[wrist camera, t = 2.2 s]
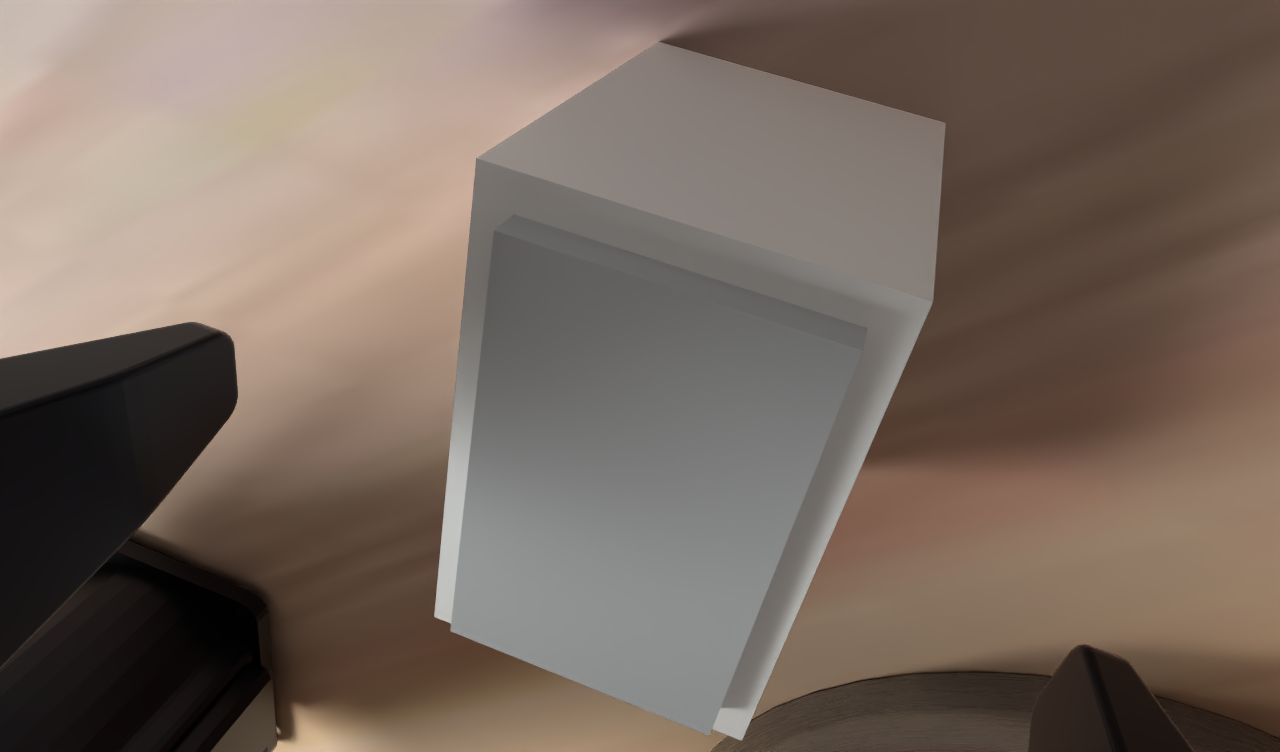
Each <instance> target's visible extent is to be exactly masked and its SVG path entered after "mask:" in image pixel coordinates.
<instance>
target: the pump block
mask: <svg viewBox="0 0 1280 752" xmlns="http://www.w3.org/2000/svg"><path fill="white" fill-rule="evenodd" d="M945 127H946V123H945V122H941V121H938V120H934V119H930V118H927V117H923V116H920V115H916V114H913V113H909V112H906V111H902V110H899V109H895V108H892V107H888V106H884V105H881V104H877V103H874V102H870V101H867V100H863V99H860V98H856V97H853V96H849V95H845V94H842V93H838V92H835V91H831V90H828V89H824V88H821V87H817V86H814V85H810V84H807V83H803V82H799V81H796V80H792V79H789V78H785V77H782V76H778V75H775V74H771V73H768V72H764V71H761V70H757V69H753V68H750V67H746V66H743V65H739V64H736V63H732V62H729V61H725V60H722V59H718V58H715V57H711V56H707V55H704V54H700V53H697V52H693V51H690V50H686V49H683V48H679V47H676V46H672V45H669V44H665V43H661V42H657V43H656V44H654V45H653V46H651V47H650V48H648V49H646V50H645V51H643V52H642V53H640V54H639V55H637V56H636V57H634V58H632V59H631V60H629V61H628V62H626V63H625V64H623V65H621V66H620V67H618V68H617V69H615V70H614V71H612V72H611V73H609V74H607V75H606V76H604V77H603V78H601V79H600V80H598V81H596V82H595V83H593V84H592V85H590V86H589V87H587V88H585V89H584V90H582V91H581V92H579V93H578V94H576V95H575V96H573V97H571V98H570V99H568V100H567V101H565V102H564V103H562V104H560V105H559V106H557V107H556V108H554V109H553V110H551V111H550V112H548V113H546V114H545V115H543V116H542V117H540V118H539V119H537V120H535V121H534V122H532V123H531V124H529V125H528V126H526V127H525V128H523V129H521V130H520V131H518V132H517V133H515V134H514V135H512V136H510V137H509V138H507V139H506V140H504V141H503V142H501V143H500V144H498V145H496V146H495V147H493V148H492V149H490V150H489V151H487V152H485V153H484V154H482V155H481V156H479V157H478V158H476V168H475V179H474V190H473V201H472V212H471V223H470V234H469V244H468V255H467V266H466V277H465V288H464V299H463V310H462V320H461V331H460V342H459V353H458V364H457V375H456V386H455V396H454V407H453V418H452V429H451V440H450V451H449V462H448V472H447V483H446V494H445V505H444V516H443V527H442V538H441V548H440V559H439V570H438V581H437V592H436V603H435V614H434V617H436V618H438V619H441V620H443V621H446V622H448V623H451V629H450V631H451V632H454V633H456V634H459V635H461V636H463V637H466V638H468V639H471V640H473V641H476V642H478V643H481V644H483V645H486V646H488V647H491V648H493V649H496V650H498V651H501V652H503V653H505V654H508V655H510V656H513V657H515V658H518V659H520V660H523V661H525V662H528V663H530V664H533V665H535V666H538V667H540V668H543V669H545V670H547V671H550V672H552V673H555V674H557V675H560V676H562V677H565V678H567V679H570V680H572V681H575V682H577V683H580V684H582V685H585V686H587V687H589V688H592V689H594V690H597V691H599V692H602V693H604V694H607V695H609V696H612V697H614V698H617V699H619V700H622V701H624V702H627V703H629V704H631V705H634V706H636V707H639V708H641V709H644V710H646V711H649V712H651V713H654V714H656V715H659V716H661V717H664V718H666V719H669V720H671V721H673V722H676V723H678V724H681V725H683V726H686V727H688V728H691V729H693V730H696V731H698V732H701V733H703V734H706V735H708V736H709V735H710V733H711V730H712V729H713V730H716V731H718V732H721V733H723V734H726V735H728V736H731V737H733V738H736V739H738V740H741V741H742V739H743V737H744V735H745V732H746V730H747V728H748V725H749V723H750V721H751V719H752V716H753V714H754V712H755V709H756V707H757V705H758V703H759V700H760V698H761V696H762V693H763V691H764V689H765V686H766V684H767V682H768V680H769V677H770V675H771V673H772V670H773V668H774V666H775V664H776V661H777V659H778V657H779V654H780V652H781V650H782V648H783V645H784V643H785V641H786V638H787V636H788V634H789V631H790V629H791V627H792V625H793V622H794V620H795V618H796V615H797V613H798V611H799V609H800V606H801V604H802V602H803V599H804V597H805V595H806V592H807V590H808V588H809V586H810V583H811V581H812V579H813V576H814V574H815V572H816V570H817V567H818V565H819V563H820V560H821V558H822V556H823V553H824V551H825V549H826V547H827V544H828V542H829V540H830V537H831V535H832V533H833V531H834V528H835V526H836V524H837V521H838V519H839V517H840V514H841V512H842V510H843V508H844V505H845V503H846V501H847V498H848V496H849V494H850V492H851V489H852V487H853V485H854V482H855V480H856V478H857V475H858V473H859V471H860V469H861V466H862V464H863V462H864V459H865V457H866V455H867V453H868V450H869V448H870V446H871V443H872V441H873V439H874V437H875V434H876V432H877V430H878V427H879V425H880V423H881V420H882V418H883V416H884V414H885V411H886V409H887V407H888V404H889V402H890V400H891V398H892V395H893V393H894V391H895V388H896V386H897V384H898V381H899V379H900V377H901V375H902V372H903V370H904V368H905V365H906V363H907V361H908V359H909V356H910V354H911V352H912V349H913V347H914V345H915V342H916V340H917V338H918V336H919V333H920V331H921V329H922V326H923V324H924V322H925V320H926V317H927V315H928V313H929V310H930V308H931V306H932V303H933V298H934V284H935V269H936V255H937V241H938V227H939V212H940V198H941V184H942V170H943V155H944V141H945Z"/></svg>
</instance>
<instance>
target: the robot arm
mask: <svg viewBox="0 0 1280 752" xmlns="http://www.w3.org/2000/svg"><path fill="white" fill-rule="evenodd" d="M237 398H238V387H237V374H236V361H235V348H234V343H233V341H232V339H231V337H230V336H229V335H228V334H227V333H225V332H223V331H221V330H218V329H215V328H212V327H209V326H207V325H204V324H201V323H197V322H188V323H182V324H177V325H172V326H167V327H162V328H156V329H151V330H146V331H141V332H136V333H131V334H125V335H120V336H115V337H110V338H105V339H100V340H94V341H89V342H84V343H79V344H74V345H69V346H64V347H58V348H53V349H48V350H43V351H38V352H33V353H27V354H22V355H17V356H12V357H7V358H2V359H0V752H272V751H273V750H274V749H275V747H276V746H277V730H276V716H275V701H274V686H273V671H272V657H271V642H270V627H269V612H268V608H267V605H266V604H265V602H264V601H263V600H262V599H261V598H260V597H259V596H258V595H257V594H255V593H254V592H252V591H250V590H248V589H245V588H243V587H241V586H238V585H236V584H233V583H231V582H228V581H226V580H224V579H221V578H219V577H216V576H214V575H211V574H209V573H207V572H204V571H202V570H199V569H197V568H194V567H192V566H190V565H187V564H185V563H182V562H180V561H177V560H175V559H172V558H170V557H168V556H165V555H163V554H160V553H158V552H155V551H153V550H151V549H148V548H146V547H143V546H141V545H138V544H136V543H134V542H131V541H129V540H128V539H129V538H130V537H131V536H132V535H133V534H134V533H135V532H136V531H137V530H138V528H139V527H140V526H141V525H142V524H143V523H144V522H145V521H146V520H147V519H148V517H149V516H150V515H151V514H152V513H153V512H154V510H155V509H156V508H157V507H158V506H159V505H160V503H161V502H162V501H163V500H164V499H165V497H166V496H167V495H168V494H169V492H170V491H171V490H172V489H173V487H174V486H175V485H176V484H177V482H178V481H179V480H180V479H181V477H182V476H183V475H184V474H185V472H186V471H187V470H188V469H189V467H190V466H191V465H192V464H193V462H194V461H195V460H196V459H197V457H198V456H199V455H200V454H201V452H202V451H203V450H204V449H205V448H206V446H207V445H208V444H209V443H210V441H211V440H212V439H213V438H214V436H215V435H216V434H217V433H218V431H219V430H220V429H221V428H222V426H223V425H224V424H225V423H226V421H227V420H228V419H229V417H230V416H231V414H232V413H233V411H234V409H235V406H236V403H237ZM1028 752H1195V751H1194V750H1193V749H1192V747H1191V746H1190V744H1189V743H1188V742H1187V740H1186V739H1185V738H1184V736H1183V735H1182V734H1181V732H1180V731H1179V729H1178V728H1177V727H1176V725H1175V724H1174V723H1173V721H1172V720H1171V719H1170V717H1169V716H1168V714H1167V713H1166V712H1165V710H1164V709H1163V708H1162V706H1161V705H1160V703H1159V702H1158V701H1157V699H1156V698H1155V697H1154V695H1153V694H1152V693H1151V691H1150V690H1149V688H1148V687H1147V686H1146V684H1145V683H1144V682H1143V680H1142V679H1141V678H1140V676H1139V675H1138V673H1137V672H1136V671H1135V669H1134V668H1133V667H1132V666H1131V665H1130V663H1129V662H1128V661H1126V660H1125V659H1124V658H1122V657H1120V656H1117V655H1114V654H1112V653H1109V652H1106V651H1103V650H1101V649H1098V648H1095V647H1092V646H1090V645H1078V646H1077V647H1075V648H1074V649H1073V650H1072V651H1071V652H1070V653H1069V654H1068V655H1067V657H1066V658H1065V660H1064V661H1063V662H1062V664H1061V665H1060V666H1059V668H1058V669H1057V671H1056V672H1055V673H1054V675H1053V676H1052V678H1051V679H1050V680H1049V682H1048V683H1047V685H1046V686H1045V687H1044V689H1043V690H1042V691H1041V693H1040V694H1039V696H1038V698H1037V700H1036V702H1035V705H1034V708H1033V711H1032V716H1031V723H1030V734H1029V745H1028Z"/></svg>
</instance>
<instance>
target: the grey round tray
mask: <svg viewBox="0 0 1280 752" xmlns="http://www.w3.org/2000/svg"><path fill="white" fill-rule="evenodd" d="M1050 679H1051V677H1043V676H1036V675H1017V674H999V673H980V672H963V673H935V674H912V675H905V676H897V677H890V678H883V679H875V680H868V681H860V682H856V683H852V684H848V685H844V686H840V687H836V688H832V689H828V690H824V691H820V692H816V693H812V694H810V695H807V696H805V697H802V698H799V699H797V700H794V701H791V702H789V703H786V704H784V705H781V706H778V707H776V708H773V709H771V710H770V711H768V712H766V713H764V714H762V715H761V716H759V717H757V718H755V719H753V720H752V721H750V723H749V725H748V728H747V730H746V732H745V735H744V737H743V739H742V741H741V740H738V739H736V738H733V737H731V736H728V737H727V738H726V739H724V740H723V741H722V742H721V743H719V744H718V745H717V746H716V747H714V749H713V750H712V751H711V752H1028V745H1029V734H1030V723H1031V716H1032V711H1033V708H1034V705H1035V702H1036V700H1037V698H1038V696H1039V694H1040V693H1041V691H1042V690H1043V689H1044V687H1045V686H1046V685H1047V683H1048V682H1049V680H1050ZM1155 698H1156V699H1157V701H1158V702H1159V703H1160V705H1161V706H1162V708H1163V709H1164V710H1165V712H1166V713H1167V714H1168V716H1169V717H1170V719H1171V720H1172V721H1173V723H1174V724H1175V725H1176V727H1177V728H1178V729H1179V731H1180V732H1181V734H1182V735H1183V736H1184V738H1185V739H1186V740H1187V742H1188V743H1189V744H1190V746H1191V747H1192V749H1193V750H1194V751H1195V752H1280V739H1278V738H1276V737H1273V736H1271V735H1268V734H1266V733H1264V732H1261V731H1259V730H1256V729H1254V728H1252V727H1249V726H1247V725H1245V724H1242V723H1240V722H1237V721H1235V720H1231V719H1228V718H1225V717H1222V716H1219V715H1216V714H1212V713H1209V712H1206V711H1203V710H1200V709H1197V708H1194V707H1190V706H1187V705H1184V704H1181V703H1178V702H1175V701H1172V700H1168V699H1163V698H1159V697H1155Z"/></svg>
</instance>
